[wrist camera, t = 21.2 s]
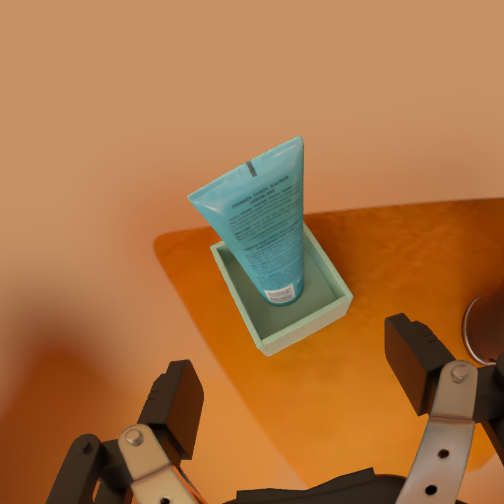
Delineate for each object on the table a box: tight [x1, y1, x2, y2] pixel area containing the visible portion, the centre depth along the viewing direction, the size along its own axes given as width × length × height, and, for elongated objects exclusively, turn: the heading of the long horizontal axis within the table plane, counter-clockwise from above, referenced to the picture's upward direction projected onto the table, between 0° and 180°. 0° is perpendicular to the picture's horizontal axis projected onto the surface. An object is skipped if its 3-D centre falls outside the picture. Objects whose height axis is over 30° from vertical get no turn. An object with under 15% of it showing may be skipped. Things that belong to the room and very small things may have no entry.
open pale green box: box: [210, 221, 353, 357], centre depth 32 cm, size 10×12×7 cm
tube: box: [188, 135, 304, 307], centre depth 24 cm, size 7×5×19 cm, turn 125°
